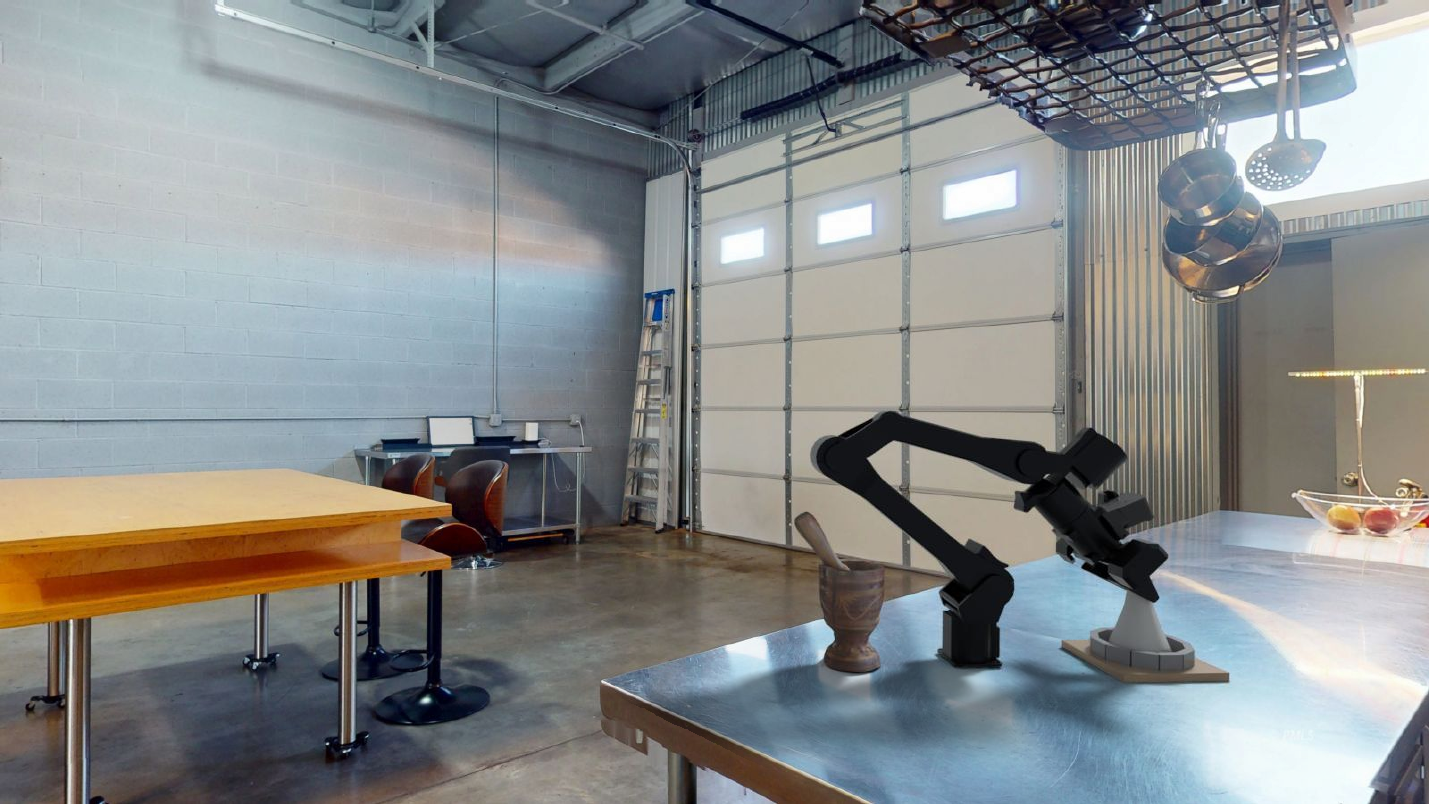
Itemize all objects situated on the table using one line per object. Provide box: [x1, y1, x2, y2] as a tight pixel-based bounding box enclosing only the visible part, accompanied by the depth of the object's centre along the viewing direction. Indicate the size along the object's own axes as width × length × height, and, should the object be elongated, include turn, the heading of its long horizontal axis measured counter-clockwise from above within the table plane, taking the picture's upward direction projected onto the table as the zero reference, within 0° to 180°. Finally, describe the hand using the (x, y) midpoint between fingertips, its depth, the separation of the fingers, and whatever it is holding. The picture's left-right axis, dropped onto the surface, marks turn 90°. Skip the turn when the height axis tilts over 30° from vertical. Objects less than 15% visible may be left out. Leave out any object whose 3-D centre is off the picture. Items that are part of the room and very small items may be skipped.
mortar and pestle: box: [793, 511, 885, 673], centre depth 97 cm, size 12×9×20 cm
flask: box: [1108, 576, 1172, 653], centre depth 99 cm, size 7×7×10 cm
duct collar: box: [1060, 626, 1230, 684], centre depth 99 cm, size 14×14×3 cm
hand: (1149, 597), depth 99 cm, fingers closed on flask, 3 cm apart
